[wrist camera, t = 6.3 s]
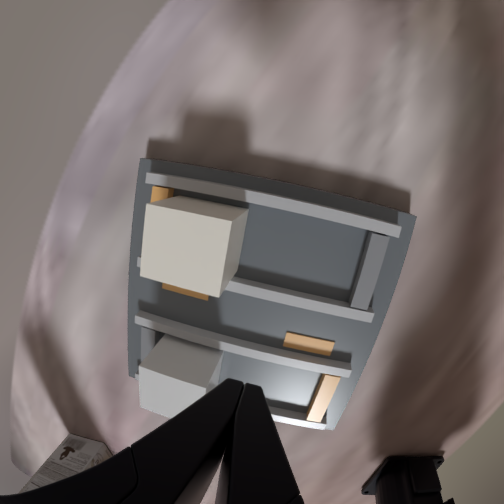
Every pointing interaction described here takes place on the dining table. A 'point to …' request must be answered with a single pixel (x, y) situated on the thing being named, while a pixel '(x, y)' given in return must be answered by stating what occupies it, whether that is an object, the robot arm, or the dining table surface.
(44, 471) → the coffee box
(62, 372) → the dining table surface
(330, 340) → the switch panel
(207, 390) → the light grey cube
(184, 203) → the beige cube
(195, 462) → the robot arm
